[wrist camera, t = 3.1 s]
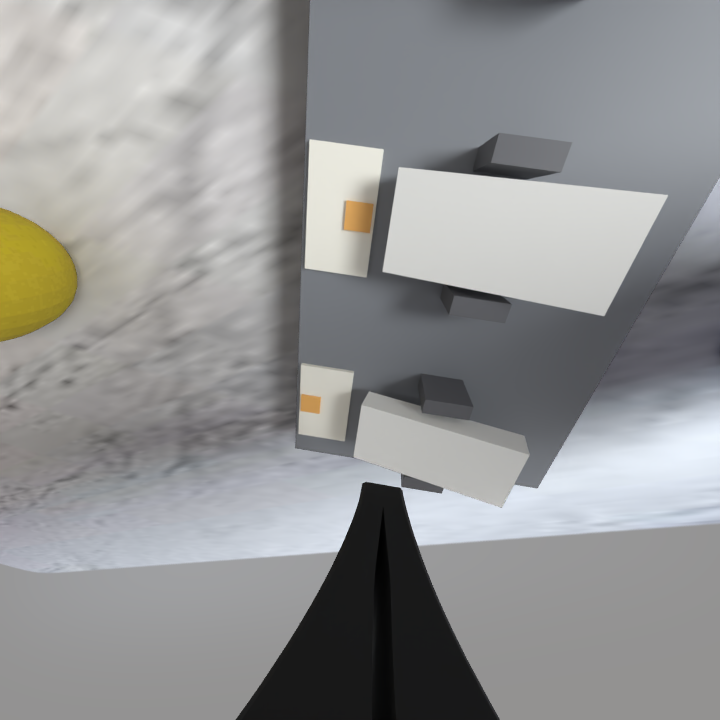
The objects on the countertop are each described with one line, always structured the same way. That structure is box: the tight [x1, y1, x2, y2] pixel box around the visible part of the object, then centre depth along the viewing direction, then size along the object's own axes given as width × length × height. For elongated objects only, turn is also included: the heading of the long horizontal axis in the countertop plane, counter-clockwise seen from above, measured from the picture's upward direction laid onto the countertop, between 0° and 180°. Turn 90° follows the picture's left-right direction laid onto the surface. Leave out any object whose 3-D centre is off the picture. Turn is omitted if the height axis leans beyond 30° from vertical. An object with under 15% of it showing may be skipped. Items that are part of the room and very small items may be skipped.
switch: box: [353, 391, 530, 508], centre depth 14 cm, size 7×3×1 cm, turn 82°
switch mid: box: [382, 167, 668, 316], centre depth 10 cm, size 7×3×1 cm, turn 82°
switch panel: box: [295, 0, 720, 493], centre depth 11 cm, size 14×25×4 cm, turn 173°
